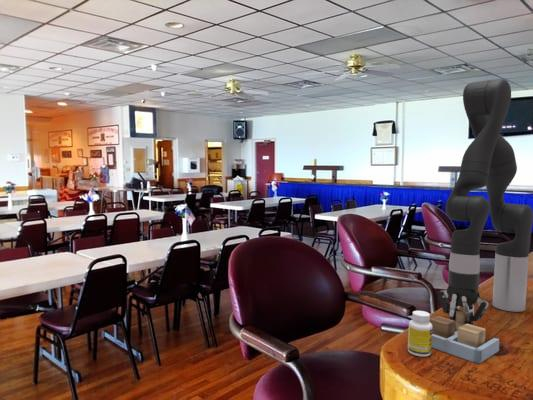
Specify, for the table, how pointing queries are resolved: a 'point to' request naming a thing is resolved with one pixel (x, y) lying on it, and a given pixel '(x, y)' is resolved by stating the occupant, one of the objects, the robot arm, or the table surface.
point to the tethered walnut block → (447, 324)
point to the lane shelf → (465, 348)
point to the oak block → (471, 335)
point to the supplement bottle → (420, 334)
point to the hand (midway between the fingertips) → (460, 331)
